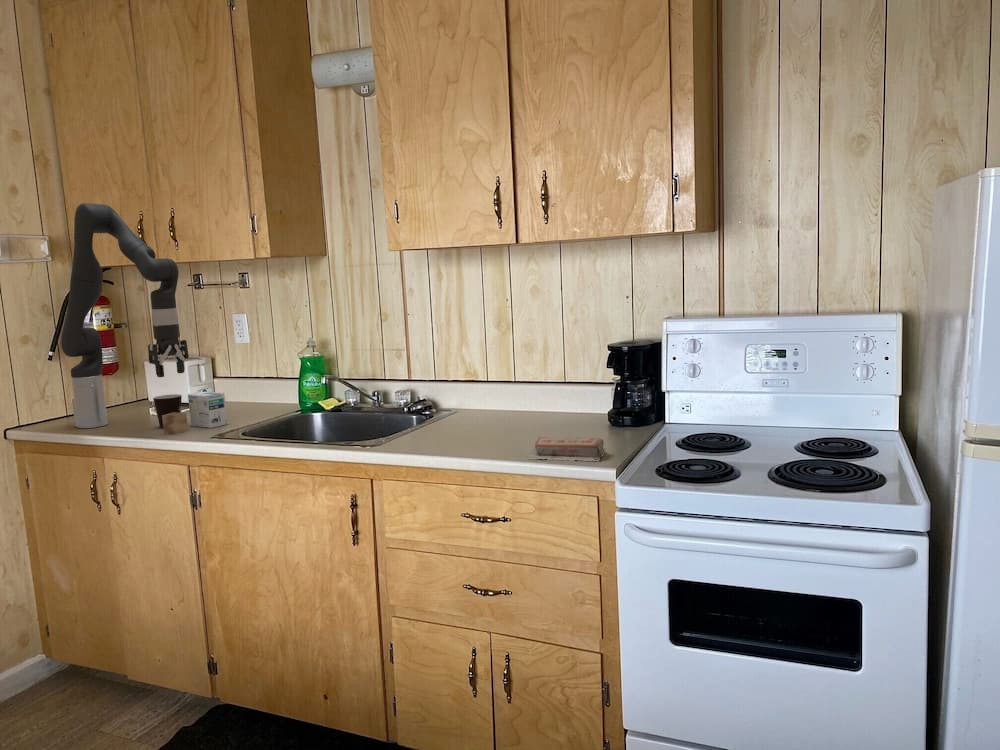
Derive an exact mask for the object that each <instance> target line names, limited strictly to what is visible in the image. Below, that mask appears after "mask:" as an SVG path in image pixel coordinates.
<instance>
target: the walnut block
mask: <svg viewBox="0 0 1000 750" xmlns="http://www.w3.org/2000/svg"><path fill="white" fill-rule="evenodd" d="M187 416H188V415H187V412H181V413H179V412H173V413H169V414H165V415H162V420H163V428H162V429H163V434H164V433H165V434H164V435H178V434H177V433H180V434H182V433H181V432H183V433H185V432H184V431H187V432H189V427H188V417H187ZM166 433H168V434H166ZM169 433H171V434H169Z"/></svg>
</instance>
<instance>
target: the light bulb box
mask: <svg viewBox="0 0 1000 750" xmlns="http://www.w3.org/2000/svg"><path fill="white" fill-rule="evenodd" d="M225 397H226V396H225V392H216V391H214V392H213V391H200V392H195V393H194V392H193V393H188V394H187V400H188V401H187V402H188V409H189V417H190V418H189V420H190V426H191V427H197V426H198V428H199V427H200V428H206V427H207V428H210V429H212V428H216V427H220V426H222V427H223V426H225V425H228V417H227V408H226V399H225Z"/></svg>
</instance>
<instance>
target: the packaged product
mask: <svg viewBox="0 0 1000 750" xmlns="http://www.w3.org/2000/svg"><path fill="white" fill-rule="evenodd" d="M605 451H606V448H605V447H604V439H603V438H599V437H598V438H597V437H595V438H594V437H572V436H571V437H569V436H568V437H566V436H564V437H563V436H538V437H537V440H536V441H535V445H534V448H533V450H532V451H530V453H528V454H527V456H526V458H527V457H543V458H564V457H570V458H577V459H594V460H599V459H600V458H601V457H602V455H603V454H604V453H605ZM606 452H607V451H606ZM605 454H606V453H605ZM605 454H604V455H605ZM602 458H603V457H602ZM602 458H601V459H602Z"/></svg>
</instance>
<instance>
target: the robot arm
mask: <svg viewBox="0 0 1000 750" xmlns="http://www.w3.org/2000/svg"><path fill="white" fill-rule="evenodd" d="M73 221H74V224H73V227H74V229H73V230H74V231H73V232H74V233H73V234H74V235H73V236H74V237H73V239H74V240H73V243H74V244H73V257H72V267H71V273H70V280H69V281H70V282H69V293H68V303H67V309H66V314H65V319H64V323H63V327H62V332H61V338H60V346H61V350H62V352H63V354H64V355H65V356H67V357H70V358H78V357H81V358H82V359H81V360H80V362H79V363H78V364H76V365H75V366H74V367H72V368H71V369H70V376H71V379H70V380H71V386H72V393H73V394H72V395H73V398H72V400H71V404H72V411H73V412H72V414H73V419H74V421H73V422H74V426H75V428H77V429H90V428H91V429H92V428H98V427H99V428H100V427H104V426H107V425H108V423H109V422H108V414H107V407H106V406H107V405H106V396H105V388H104V380H103V379H104V378H103V367H104V362H103V361H104V359H103V343H102V337H101V335H100V332H99V331H98V330H97V329H96V328H94V327H84V323H85V320H86V317H87V316H88V314H89V312H90V310H92V308H93V307H94V306H95V305H96V303H97V302H98V300H99V298H100V297H101V294H102V290H103V282H104V271H103V268H102V266H101V264H100V262H99V260H98V258H97V256H96V254H95V252H94V248H93V245H94V244H93V241H94V240H93V239H94V234H108V235H110V236H112V237H114V238H115V239H116V240H117V243H118V248H119V249H120V252H121V253H122V255H124V256H125V257H126V259H128V260H129V261H131V263H133V264H134V266H135V267H136V269H137V270H138V271H139V273H140V275H141V276H142V278H144V279H145V280H147V281H149V282H152V283H154V282H155V283H156V282H159V283H160V285H159V288H156V289H154V290H153V291H151V292H150V305H151V323H152V333H153V339H155V340H156V341H155V342H156V343H155V344H154V343H150V344H148V345H147V353H148V355H147V356H148V363H149V365H151V364H152V365H154V366H155V367H154V368H155V375H156V377H157V378H164V377H165V370H164V369H165V368H164V367H165V366H164V362H165V360H167V357H170V356H171V357H173V358H174V359H175V361H176V364H175V365H176V372H177V374H184V373H185V371H186V370H185V368H186V367H185V360H186V359H189V357H190V356H189V351H188V342H187V340H186V339H179V338H180V336H181V333H180V332H181V331H180V323H179V316H178V310H177V302H176V292H177V287H178V281H179V273H180V271H179V266H178V265H177V263H176V261H174V260H173V259H172V258H156V257H157V256H156V253H155V250H154V249H153V248H151V246H149V245H148V244H147V243H146V242H145V241H143V240H142V239H141V238H140V237H139V236H138V235H136V233H134V232H133V230H131V228H130V227H129V226H128V224H126V223H125V221H124V219H122V217H121V216H120V215H119V214H118V213H117V211H116V210H114V208H112V207H111V206H109V205H107V204H103V203H89V202H88V203H86V202H84V203H80V204H79V205H78V206H77V207H76V209H75V213H74V219H73Z"/></svg>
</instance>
